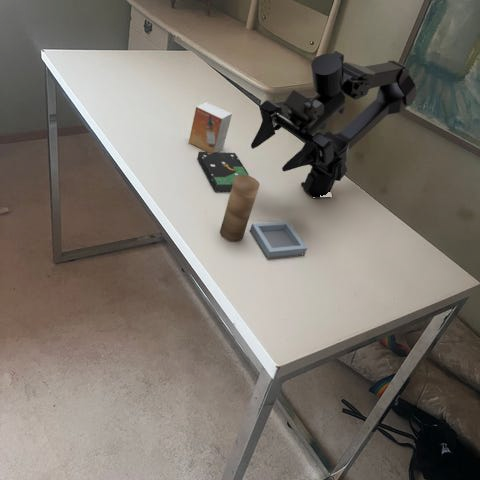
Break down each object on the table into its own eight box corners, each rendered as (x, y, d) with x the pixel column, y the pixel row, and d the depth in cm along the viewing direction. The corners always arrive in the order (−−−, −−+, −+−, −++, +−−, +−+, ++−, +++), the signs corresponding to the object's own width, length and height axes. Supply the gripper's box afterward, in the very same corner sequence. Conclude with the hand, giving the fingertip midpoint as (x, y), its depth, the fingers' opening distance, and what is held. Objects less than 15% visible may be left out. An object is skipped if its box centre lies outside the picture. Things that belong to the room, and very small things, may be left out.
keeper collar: (285, 228, 103) (288, 221, 101) (304, 255, 97) (307, 248, 95) (249, 230, 99) (252, 223, 97) (267, 259, 93) (269, 251, 91)
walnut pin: (237, 225, 99) (253, 174, 91) (246, 240, 96) (263, 189, 88) (216, 226, 97) (230, 175, 89) (225, 242, 94) (240, 190, 86)
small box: (188, 143, 122) (195, 106, 115) (199, 136, 126) (206, 100, 120) (213, 155, 120) (222, 118, 114) (223, 148, 124) (232, 112, 118)
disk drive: (195, 161, 117) (214, 194, 107) (197, 151, 115) (216, 184, 105) (232, 161, 121) (254, 193, 111) (235, 152, 120) (256, 183, 110)
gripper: (282, 61, 93) (227, 110, 91) (354, 102, 85) (295, 157, 82) (289, 100, 103) (239, 145, 100) (354, 140, 94) (301, 191, 92)
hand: (266, 158), depth 93 cm, fingers open, 9 cm apart
